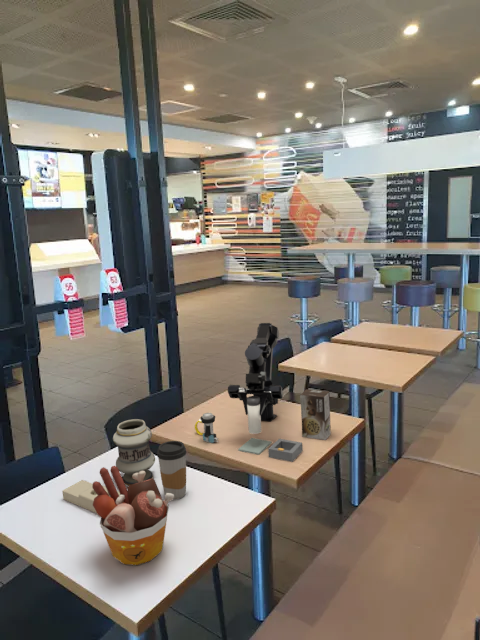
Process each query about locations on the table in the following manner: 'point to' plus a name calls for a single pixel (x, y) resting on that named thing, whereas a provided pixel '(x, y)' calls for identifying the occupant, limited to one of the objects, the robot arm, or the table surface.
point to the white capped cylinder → (254, 414)
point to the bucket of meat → (131, 516)
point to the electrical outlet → (82, 495)
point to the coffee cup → (173, 468)
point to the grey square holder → (285, 450)
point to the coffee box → (315, 414)
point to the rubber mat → (255, 446)
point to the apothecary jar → (133, 450)
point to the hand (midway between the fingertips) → (253, 414)
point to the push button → (208, 427)
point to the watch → (197, 428)
